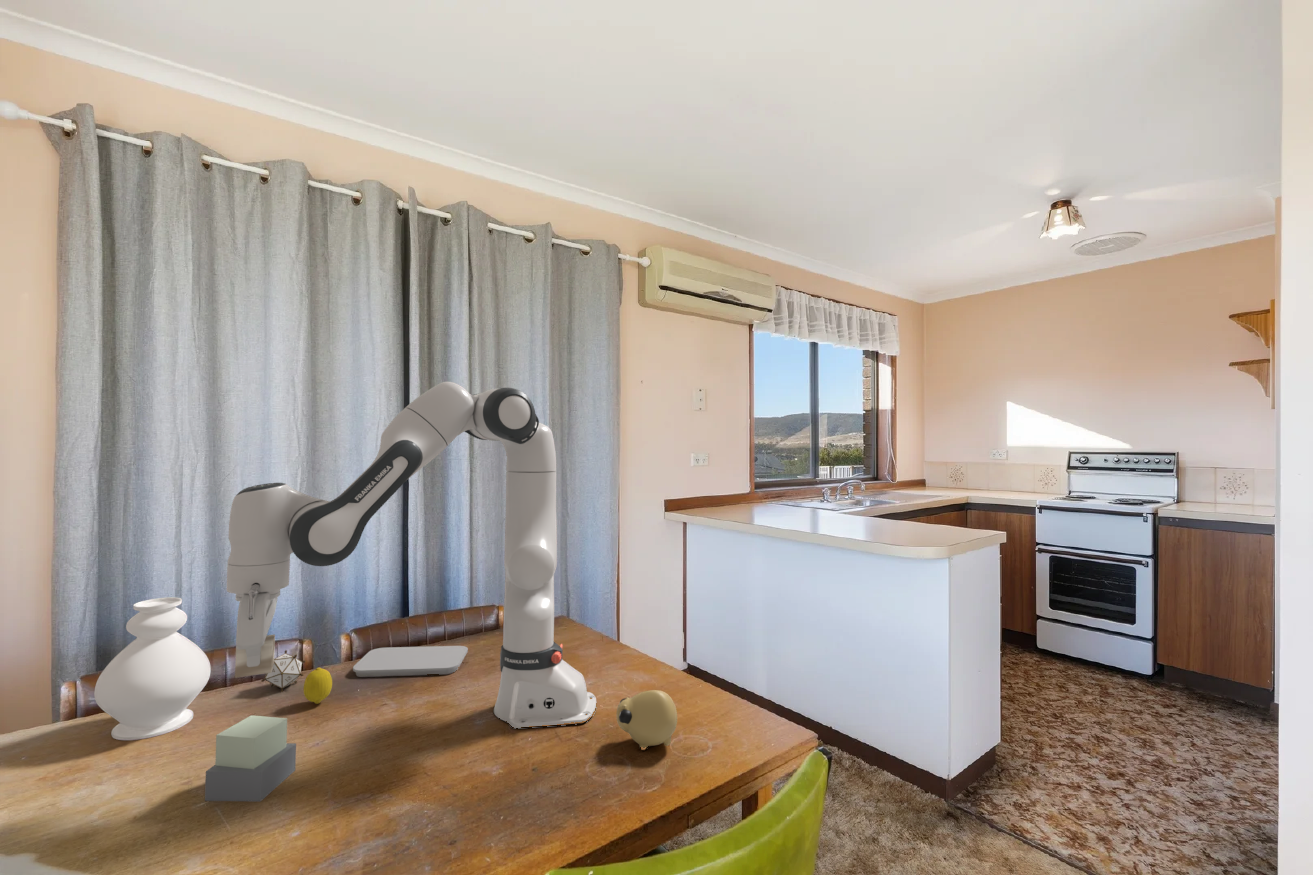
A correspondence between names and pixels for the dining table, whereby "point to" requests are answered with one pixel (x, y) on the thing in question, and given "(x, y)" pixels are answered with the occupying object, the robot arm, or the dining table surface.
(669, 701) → the toy pig
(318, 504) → the robot arm
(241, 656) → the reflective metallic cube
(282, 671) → the game die
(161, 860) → the dining table surface
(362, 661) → the tablet
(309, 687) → the lemon
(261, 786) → the charcoal base block
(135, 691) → the decorative vase
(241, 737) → the sage top block
